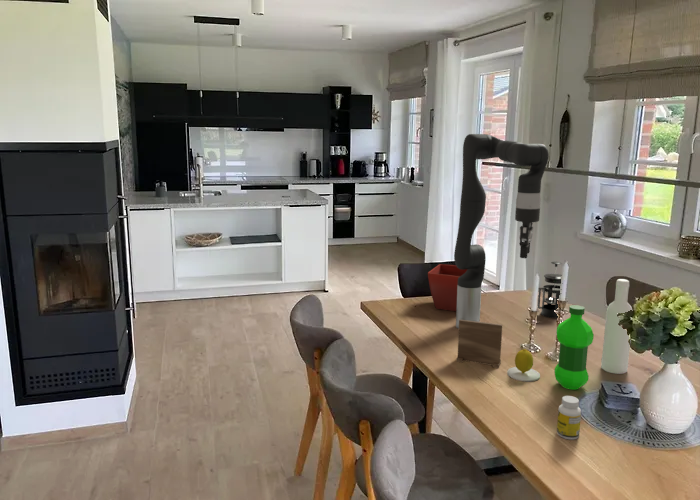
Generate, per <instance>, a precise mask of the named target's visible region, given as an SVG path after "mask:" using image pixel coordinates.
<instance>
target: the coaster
mask: <svg viewBox="0 0 700 500" xmlns="http://www.w3.org/2000/svg"><path fill="white" fill-rule="evenodd" d="M506 374H507V376H508V377H509V378H511V379H513V380H515V381H520V382H536V381H538V380H540V378H541V374H540V372H538V370H536V369H533V368H531V369H530V370H529V371H527V372H525V373H522V372H521V371H520V370H518V369H517V367H516V366H514V367H510V368H508V369H507V372H506Z"/></svg>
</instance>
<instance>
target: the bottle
mask: <svg viewBox="0 0 700 500" xmlns="http://www.w3.org/2000/svg"><path fill="white" fill-rule="evenodd" d="M629 289H630V280H628V279H625V278H618V279H617V280H616V282H615V293H614V294H615V295H614V300H613V301H612V302H610V303H609V304H608V307H607V309H606V313H605V323H604V333H603V334H604V336H603V344H602V352H601V353H602V355H601V365H600V368H601V369H602V370H603V371H605V372H606V373H611V374H614V375H615V374H616V375H617V374H618V375H623V374H625V373H628V368H629V357H630V350H631V349H630V348H631V345H630V346H629V343H628V339H629V336H628V335H627V331H626V330H625V329H623V328H622V327H621V326H619V325H618V323H619V319H620V318H618V317H617V313H625V312H628V311H630V310H632V311H633V308H632V306H631V304H630V303H629V302H628V296H629Z"/></svg>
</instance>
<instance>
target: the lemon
mask: <svg viewBox="0 0 700 500" xmlns="http://www.w3.org/2000/svg"><path fill="white" fill-rule="evenodd" d="M514 364H515V367H517V369H518V370H520V371H521V372H522V373H525V372H527V371H529V370H530V369H533V365H534V357H533V354H532V352H531V351H529V350H527V349H526V348H524V349H521V350H519V351H517V353H516V354H515V358H514Z"/></svg>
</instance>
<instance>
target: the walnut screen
mask: <svg viewBox="0 0 700 500" xmlns="http://www.w3.org/2000/svg"><path fill="white" fill-rule="evenodd" d="M502 337H503V324H501V323H500V324H499V323H493V322H485V321H480V322H477V321H469V320H461V319H460V320H459V329H458V339H457V341H458V342H457V358H456V359H455V362H456V363H460V364H461V363H463V362H470V363H477V364H483V365H491V366H492V368H496V369H500V366H501V362H502V358H501V355H502V354H501V353H502V342H503V341H502V340H503V338H502Z"/></svg>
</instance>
